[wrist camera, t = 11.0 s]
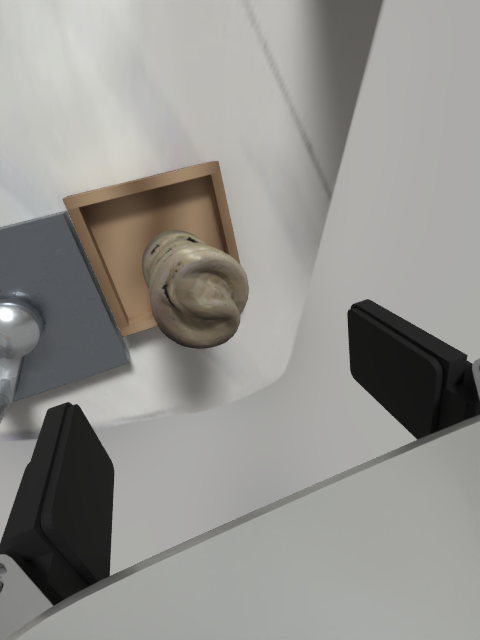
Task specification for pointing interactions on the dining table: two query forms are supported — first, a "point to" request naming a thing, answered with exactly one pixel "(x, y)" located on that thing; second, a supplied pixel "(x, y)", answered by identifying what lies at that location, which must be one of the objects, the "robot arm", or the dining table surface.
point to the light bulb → (193, 289)
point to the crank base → (58, 304)
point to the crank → (15, 344)
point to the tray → (147, 231)
